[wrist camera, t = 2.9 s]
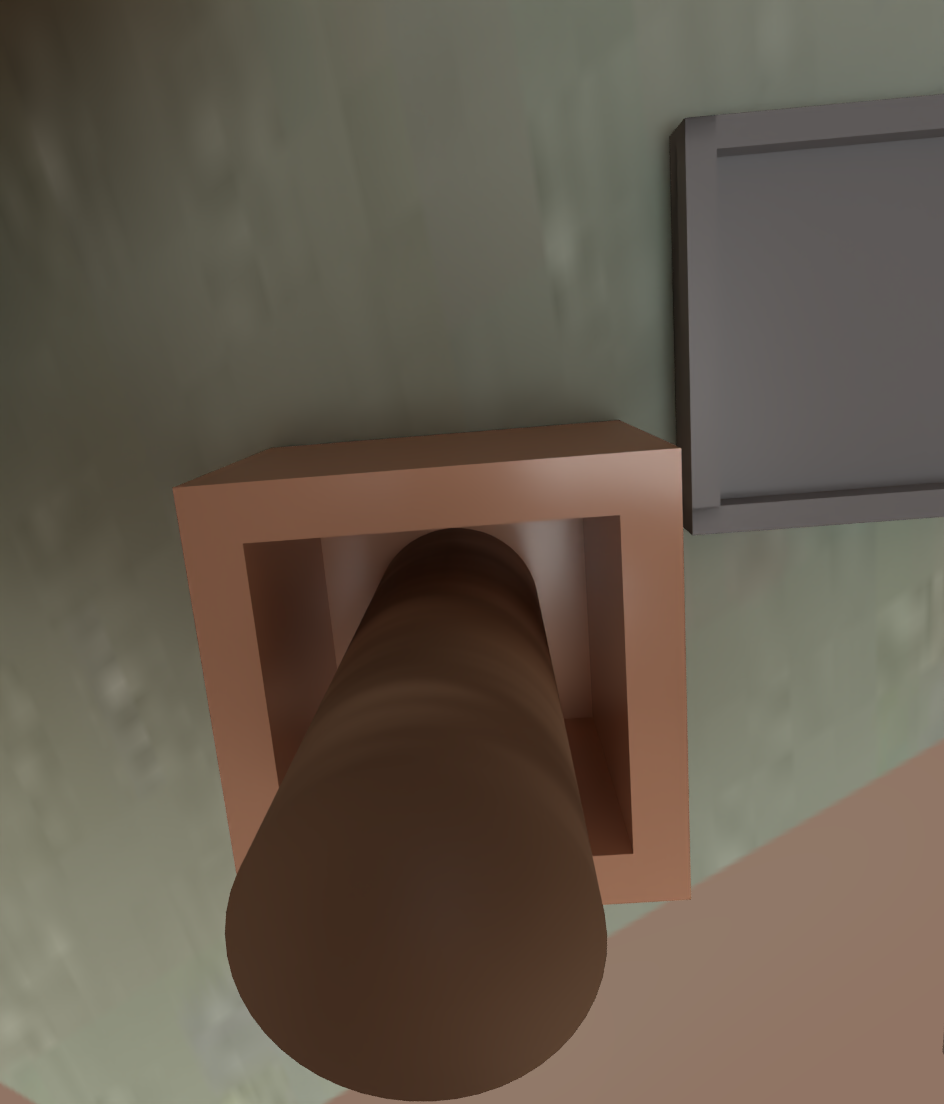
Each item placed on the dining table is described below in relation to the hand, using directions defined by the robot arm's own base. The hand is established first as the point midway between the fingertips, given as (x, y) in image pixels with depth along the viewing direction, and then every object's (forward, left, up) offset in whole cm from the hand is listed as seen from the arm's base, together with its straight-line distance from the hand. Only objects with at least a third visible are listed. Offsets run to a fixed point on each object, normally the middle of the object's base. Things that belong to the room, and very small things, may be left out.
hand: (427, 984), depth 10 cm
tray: (+14, +8, -16) cm, 23 cm away
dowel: (0, 0, -15) cm, 15 cm away
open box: (0, 0, -16) cm, 16 cm away
